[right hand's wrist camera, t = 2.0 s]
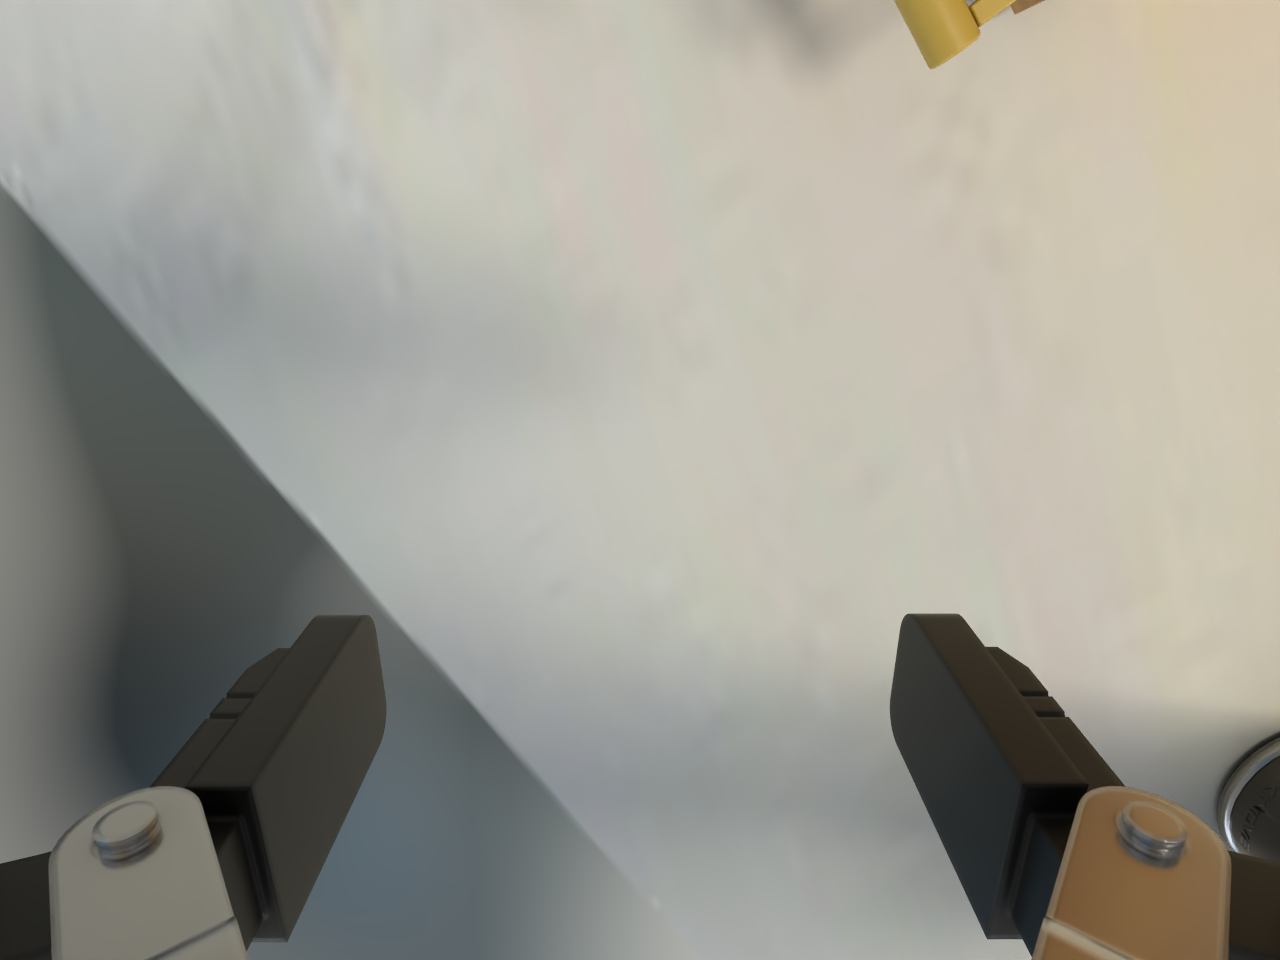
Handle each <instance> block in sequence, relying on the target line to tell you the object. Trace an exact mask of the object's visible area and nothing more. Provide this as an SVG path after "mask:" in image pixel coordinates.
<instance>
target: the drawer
mask: <svg viewBox="0 0 1280 960" xmlns="http://www.w3.org/2000/svg"><path fill="white" fill-rule="evenodd" d="M894 1H895V3H896V5H897V6H898V8H899V10H900V12H901V14H902V16H903V18H904V20H905V22H906V24H907V26H908V28H909V30H910V32H911V34H912V36H913V38H914V40H915V42H916V43H917V45H918V47H919V49H920V51H921V53H922V55H923V57H924V59H925V61H926V63H927V65H928V67H929V68H930V69H933V68H936V67H938V66H940V65H941V64H943V63H945V62H946V61H948V60H949V59H951V58H952V57H954V56H955V55H957V54H958V53H960V52H961V51H962V50H964V49H965V48H967V47H968V46H969V45H971V44H972V43H973V42H974V41H975V40H977V39H978V37H979V36H980V30H979V28H978V27H980V26H982V25H983V24H985V23H986V22H987V21H989V20H990V19H991V18H993V17H994V16H996V15H997V14H998V13H1000V12H1001V11H1002V10H1004V9H1005V8H1006V7H1008V6H1009V5H1011V8H1012V10H1013V12H1014V14H1017V13H1020V12H1022V11H1024V10H1026V9H1028V8H1030V7H1032V6H1034V5H1036V4H1038V3H1040V2H1042V1H1044V0H976V1H975V2H973V3H972V4H971V5H969V6H967V4H966V1H965V0H894Z"/></svg>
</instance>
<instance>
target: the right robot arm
mask: <svg viewBox="0 0 1280 960" xmlns="http://www.w3.org/2000/svg"><path fill="white" fill-rule="evenodd" d="M890 718H891V726H892V731H893V735H894V738H895V741H896V744H897V746H898V748H899V750H900V752H901V755H902V757H903V759H904V761H905V763H906V765H907V768H908V770H909V772H910V774H911V776H912V778H913V780H914V783H915V785H916V787H917V789H918V791H919V793H920V796H921V798H922V800H923V802H924V804H925V806H926V808H927V811H928V813H929V815H930V817H931V819H932V821H933V824H934V826H935V828H936V830H937V832H938V834H939V836H940V839H941V841H942V843H943V845H944V847H945V849H946V852H947V854H948V856H949V858H950V860H951V862H952V864H953V867H954V869H955V871H956V873H957V875H958V877H959V880H960V882H961V884H962V886H963V888H964V890H965V892H966V895H967V897H968V899H969V901H970V903H971V905H972V908H973V910H974V912H975V914H976V916H977V918H978V920H979V923H980V925H981V927H982V929H983V931H984V933H985V935H986V938H987V939H1023V941H1024V943H1025V945H1026V947H1027V948H1028V950H1029V952H1030V954H1031V956H1032V960H1280V737H1279V738H1277V739H1275V740H1273V741H1271V742H1269V743H1267V744H1266V745H1264V746H1263V747H1261V748H1260V749H1258V750H1257V751H1256V752H1254V753H1253V754H1252V755H1250V756H1249V757H1248V758H1247V759H1246V760H1245V761H1244V762H1243V763H1242V764H1241V765H1240V766H1239V767H1238V768H1237V769H1236V770H1235V771H1234V773H1233V774H1232V775H1231V777H1230V778H1229V780H1228V781H1227V783H1226V785H1225V787H1224V788H1223V791H1222V793H1221V795H1220V799H1219V802H1218V808H1217V820H1218V826H1219V829H1220V831H1221V834H1222V836H1223V837H1224V839H1225V840H1226V842H1227V843H1228V844H1229V845H1230V846H1231V847H1232V849H1233V850H1234V851H1235V852H1232V851H1229V850H1227V848H1226V847H1225V845H1224V843H1223V842H1222V840H1221V839H1220V838H1219V837H1218V835H1217V834H1216V833H1215V832H1214V831H1213V830H1212V829H1211V828H1210V827H1209V826H1208V825H1207V824H1206V823H1205V822H1203V821H1202V820H1201V819H1199V818H1198V817H1197V816H1195V815H1194V814H1193V813H1191V812H1190V811H1188V810H1186V809H1185V808H1183V807H1181V806H1180V805H1178V804H1176V803H1174V802H1172V801H1170V800H1168V799H1165V798H1163V797H1161V796H1158V795H1156V794H1153V793H1150V792H1147V791H1143V790H1139V789H1135V788H1129V787H1125V785H1124V784H1123V783H1122V782H1121V781H1120V779H1119V778H1118V777H1117V776H1116V774H1115V773H1114V772H1113V771H1112V770H1111V768H1110V767H1109V766H1108V765H1107V763H1106V762H1105V761H1104V760H1103V758H1102V757H1101V756H1100V755H1099V754H1098V752H1097V751H1096V750H1095V749H1094V747H1093V746H1092V745H1091V744H1090V743H1089V741H1088V740H1087V739H1086V738H1085V736H1084V735H1083V734H1082V733H1081V732H1080V730H1079V729H1078V728H1077V727H1076V725H1075V724H1074V723H1073V722H1072V720H1071V719H1070V718H1069V717H1065V715H1064V711H1063V709H1062V708H1061V707H1060V706H1059V705H1058V703H1057V702H1056V701H1055V700H1054V698H1053V697H1049V696H1048V691H1047V690H1046V689H1045V687H1044V686H1043V685H1042V684H1041V682H1040V681H1039V680H1038V679H1037V678H1036V676H1035V675H1034V674H1033V673H1032V671H1031V670H1030V669H1029V668H1028V667H1027V666H1025V665H1024V664H1022V663H1021V662H1019V661H1018V660H1016V659H1015V658H1013V657H1012V656H1010V655H1009V654H1007V653H1006V652H1004V651H1003V650H1001V649H1000V648H998V647H985V646H984V645H983V644H982V642H981V641H980V640H979V638H978V637H977V636H976V634H975V633H974V632H973V630H972V629H971V628H970V626H969V625H968V624H967V622H966V621H965V620H964V619H963V617H962V616H960V615H959V614H907V615H905V617H904V618H903V621H902V623H901V628H900V634H899V641H898V648H897V655H896V662H895V670H894V677H893V684H892V691H891V698H890ZM385 721H386V698H385V691H384V684H383V677H382V670H381V663H380V656H379V649H378V642H377V635H376V629H375V625H374V622H373V620H372V618H371V617H370V616H369V615H318V616H316V617H314V618H313V619H312V621H311V622H310V623H309V625H308V626H307V627H306V628H305V630H304V631H303V632H302V634H301V635H300V636H299V638H298V639H297V640H296V642H295V643H294V644H293V645H292V647H291V648H278V649H276V650H275V651H273V652H272V653H270V654H269V655H267V656H266V657H264V658H263V659H261V660H260V661H258V662H257V663H255V664H254V665H252V666H251V667H249V668H248V669H247V670H246V671H245V672H244V673H243V674H242V676H241V677H240V678H239V679H238V681H237V682H236V683H235V684H234V685H233V687H232V688H231V689H230V690H229V692H228V693H227V697H226V698H223V699H222V700H221V701H220V702H219V704H218V705H217V706H216V707H215V708H214V710H213V711H212V712H211V713H210V719H205V721H204V722H203V723H202V724H201V725H200V727H199V728H198V729H197V730H196V732H195V733H194V734H193V735H192V736H191V738H190V739H189V740H188V741H187V743H186V744H185V745H184V746H183V747H182V749H181V750H180V751H179V752H178V754H177V755H176V756H175V757H174V758H173V759H172V761H171V762H170V763H169V764H168V766H167V767H166V768H165V769H164V770H163V772H162V773H161V774H160V775H159V776H158V778H157V779H156V780H155V781H154V783H153V784H152V785H151V786H150V787H149V788H145V789H141V790H137V791H133V792H130V793H127V794H125V795H122V796H119V797H117V798H115V799H112V800H110V801H108V802H106V803H104V804H102V805H100V806H99V807H97V808H95V809H94V810H92V811H90V812H89V813H87V814H86V815H85V816H83V817H82V818H81V819H79V820H78V821H77V822H75V823H74V824H73V825H72V826H71V827H70V828H69V829H68V830H67V831H66V832H65V833H64V834H63V835H62V837H61V838H60V839H59V840H58V842H57V843H56V845H55V847H54V848H53V850H52V851H51V852H48V853H44V854H40V855H36V856H32V857H27V858H23V859H19V860H14V861H10V862H6V863H2V864H0V960H248V956H247V953H246V951H247V949H248V947H249V945H250V943H251V942H287V941H288V939H289V937H290V935H291V933H292V931H293V929H294V926H295V924H296V922H297V920H298V918H299V916H300V914H301V911H302V909H303V907H304V905H305V903H306V901H307V899H308V897H309V894H310V892H311V890H312V888H313V886H314V884H315V882H316V880H317V878H318V875H319V873H320V871H321V869H322V867H323V865H324V863H325V861H326V858H327V856H328V854H329V852H330V850H331V848H332V846H333V844H334V841H335V839H336V837H337V835H338V833H339V831H340V829H341V826H342V824H343V822H344V820H345V818H346V816H347V814H348V812H349V809H350V807H351V805H352V803H353V801H354V799H355V797H356V795H357V792H358V790H359V788H360V786H361V784H362V782H363V780H364V778H365V775H366V773H367V771H368V769H369V767H370V765H371V763H372V761H373V758H374V756H375V754H376V752H377V750H378V748H379V746H380V743H381V740H382V737H383V733H384V728H385Z"/></svg>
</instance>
